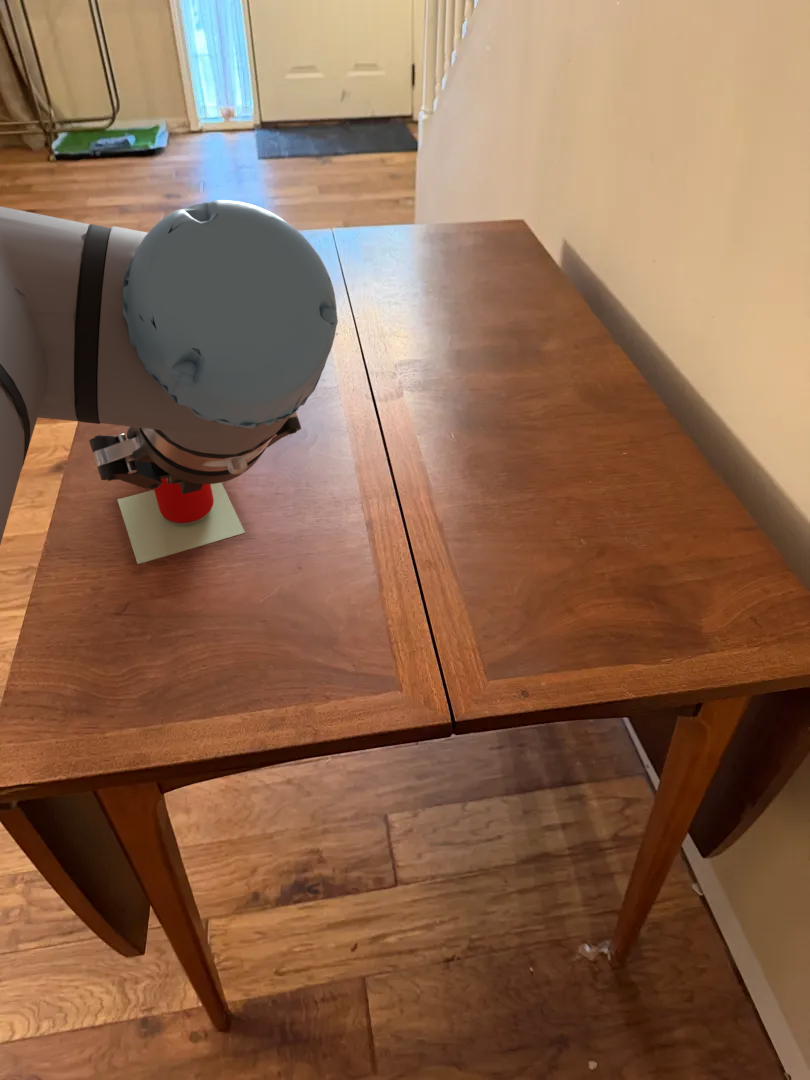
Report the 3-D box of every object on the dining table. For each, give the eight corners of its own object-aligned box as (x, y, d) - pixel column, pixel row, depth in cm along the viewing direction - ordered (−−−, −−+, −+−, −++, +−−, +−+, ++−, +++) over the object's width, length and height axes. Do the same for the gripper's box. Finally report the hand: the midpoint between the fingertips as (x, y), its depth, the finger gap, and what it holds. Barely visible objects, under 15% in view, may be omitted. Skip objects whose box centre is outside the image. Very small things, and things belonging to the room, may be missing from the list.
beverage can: (155, 529, 88) (131, 442, 80) (168, 494, 92) (145, 408, 84) (210, 529, 88) (190, 442, 80) (219, 494, 92) (202, 409, 84)
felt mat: (137, 564, 84) (137, 564, 84) (117, 499, 92) (117, 499, 92) (245, 533, 88) (245, 532, 88) (216, 473, 96) (216, 473, 95)
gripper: (103, 505, 39) (119, 542, 61) (344, 442, 43) (276, 498, 66) (58, 362, 39) (90, 452, 61) (303, 313, 43) (250, 413, 65)
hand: (186, 476), depth 63 cm, fingers closed
